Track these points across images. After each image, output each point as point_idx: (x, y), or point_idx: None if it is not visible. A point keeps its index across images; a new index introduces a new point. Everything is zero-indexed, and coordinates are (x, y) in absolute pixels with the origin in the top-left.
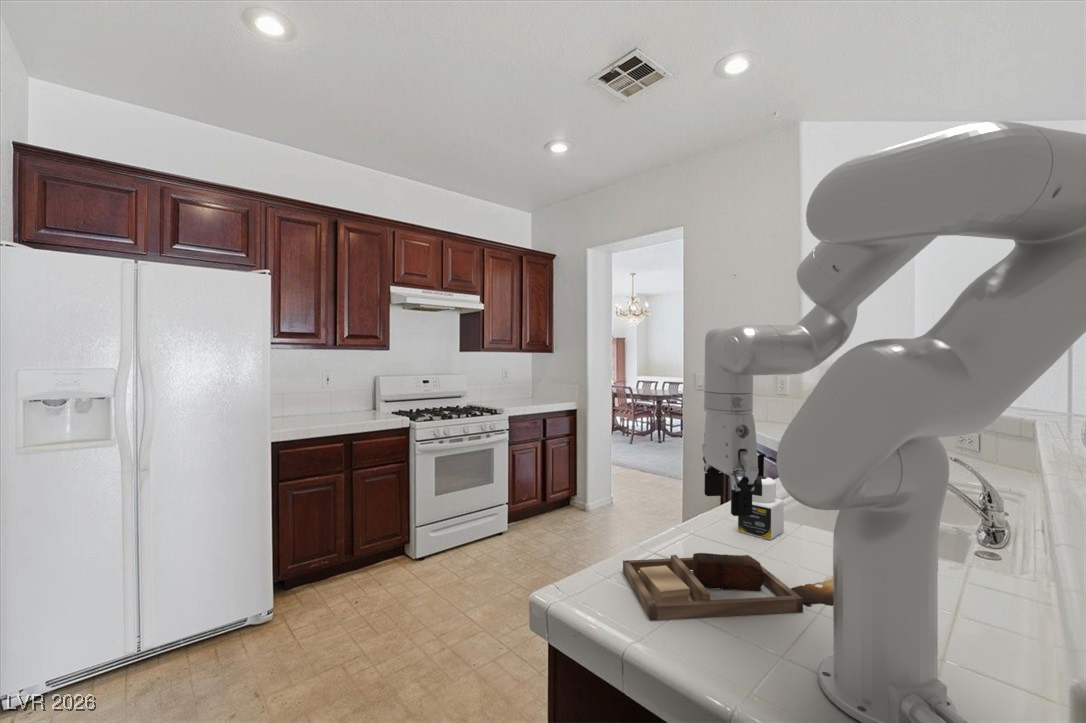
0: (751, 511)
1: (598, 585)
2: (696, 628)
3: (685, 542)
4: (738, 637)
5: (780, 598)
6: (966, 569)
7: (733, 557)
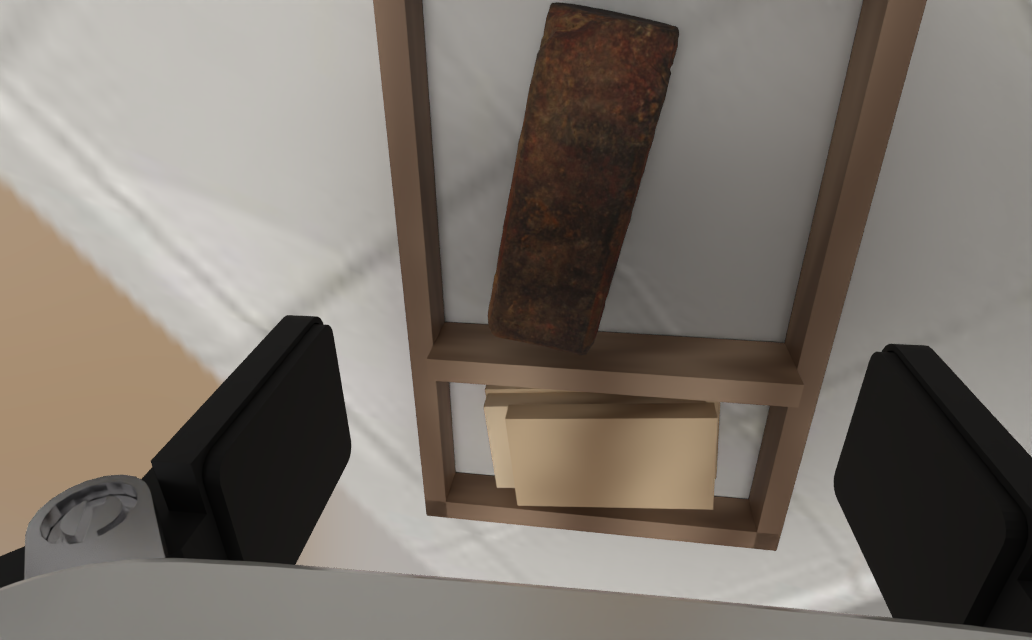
0: (935, 360)
1: (526, 568)
2: None
3: (118, 153)
4: (960, 325)
5: (893, 63)
6: None
7: (563, 165)
